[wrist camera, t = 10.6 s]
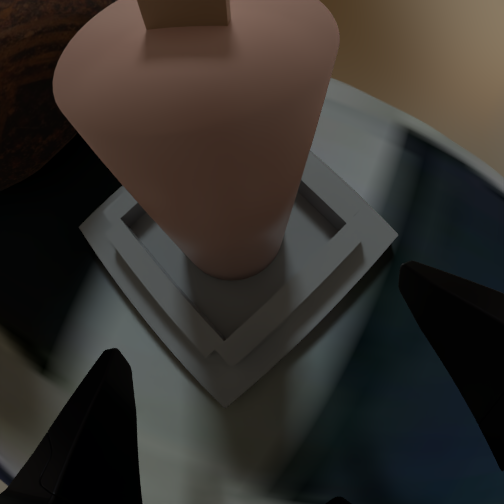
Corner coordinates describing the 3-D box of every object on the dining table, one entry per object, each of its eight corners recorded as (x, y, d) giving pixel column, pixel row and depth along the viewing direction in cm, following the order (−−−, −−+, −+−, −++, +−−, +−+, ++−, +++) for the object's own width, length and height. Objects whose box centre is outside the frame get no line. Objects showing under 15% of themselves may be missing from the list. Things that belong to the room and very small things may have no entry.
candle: (287, 190, 18) (338, -56, 4) (276, 287, 16) (377, 94, 2) (193, 180, 18) (110, -47, 4) (174, 272, 16) (-29, 109, 3)
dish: (390, 240, 18) (409, 227, 15) (226, 403, 16) (222, 416, 13) (240, 105, 21) (239, 80, 18) (87, 232, 18) (66, 219, 16)
